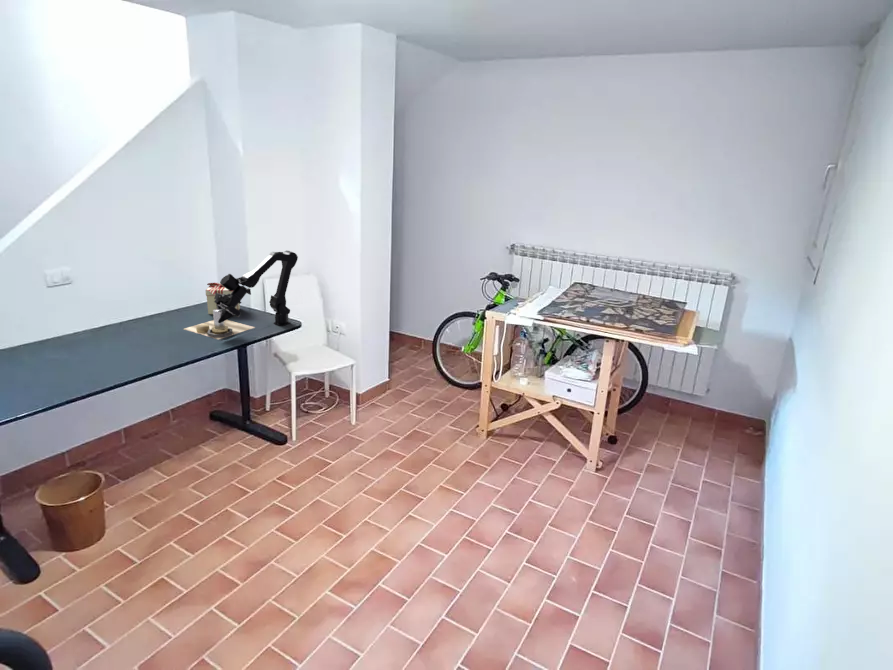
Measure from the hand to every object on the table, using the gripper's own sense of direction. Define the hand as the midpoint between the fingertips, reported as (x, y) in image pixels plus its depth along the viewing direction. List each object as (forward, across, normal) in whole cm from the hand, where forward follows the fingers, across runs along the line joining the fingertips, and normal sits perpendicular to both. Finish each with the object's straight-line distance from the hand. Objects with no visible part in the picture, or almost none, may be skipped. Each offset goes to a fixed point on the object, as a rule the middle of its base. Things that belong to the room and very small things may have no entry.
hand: (216, 321), depth 273 cm
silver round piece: (+3, 0, +5) cm, 6 cm away
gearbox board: (+2, -8, +9) cm, 12 cm away
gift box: (-8, -35, +19) cm, 40 cm away
